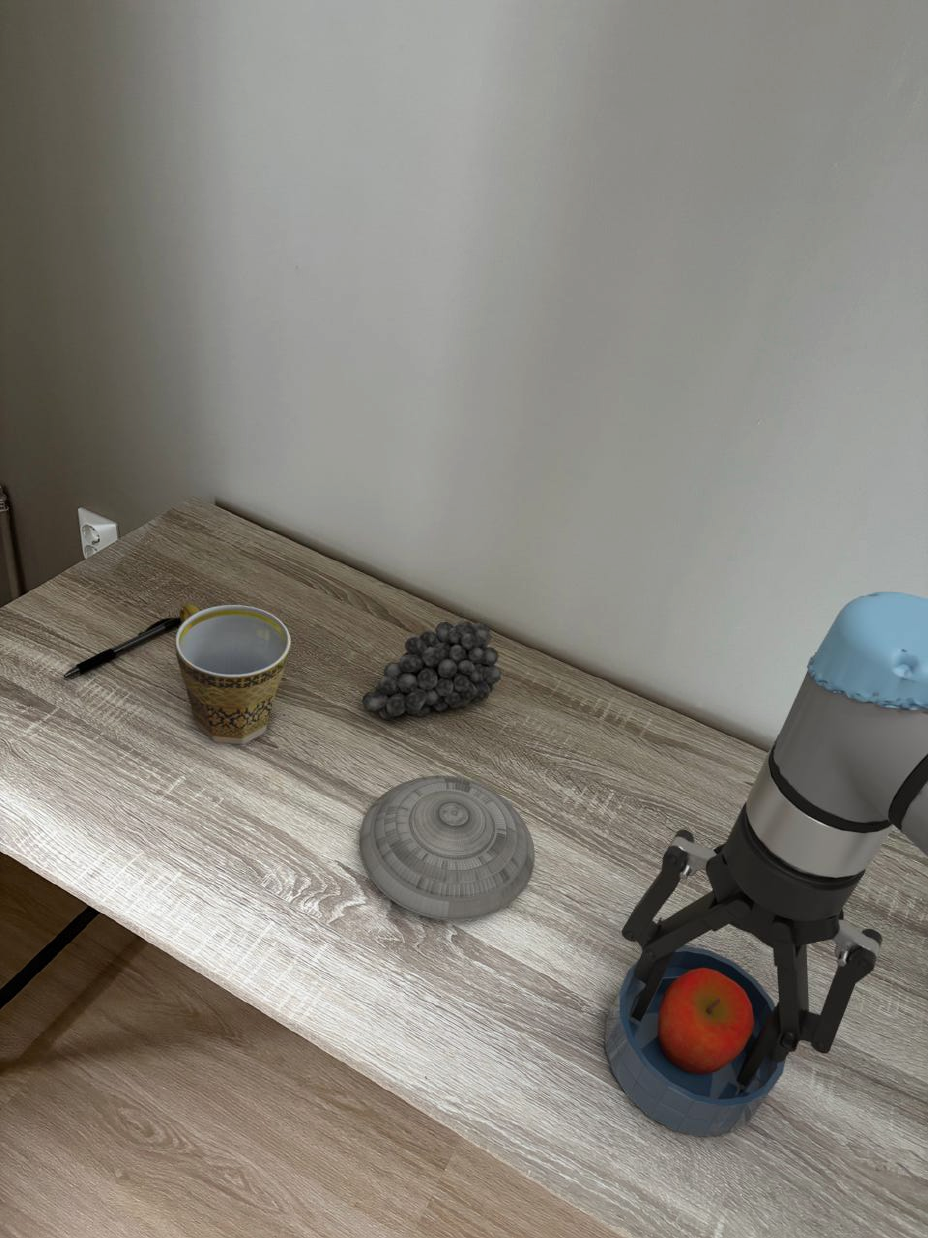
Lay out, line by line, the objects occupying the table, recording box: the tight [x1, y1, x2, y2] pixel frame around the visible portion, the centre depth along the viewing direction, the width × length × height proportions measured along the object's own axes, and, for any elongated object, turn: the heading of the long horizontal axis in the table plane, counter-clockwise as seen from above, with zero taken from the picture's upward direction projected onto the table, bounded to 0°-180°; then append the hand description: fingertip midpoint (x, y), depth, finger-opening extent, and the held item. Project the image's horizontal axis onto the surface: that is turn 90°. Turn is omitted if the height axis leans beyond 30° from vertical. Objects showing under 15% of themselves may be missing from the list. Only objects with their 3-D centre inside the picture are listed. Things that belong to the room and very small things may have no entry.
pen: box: [63, 616, 182, 679], centre depth 98 cm, size 14×2×1 cm, turn 141°
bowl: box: [604, 944, 787, 1137], centre depth 71 cm, size 12×12×5 cm
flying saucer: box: [358, 775, 536, 922], centre depth 82 cm, size 15×15×6 cm
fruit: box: [361, 620, 502, 721], centre depth 96 cm, size 9×8×15 cm
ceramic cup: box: [174, 603, 292, 745], centre depth 90 cm, size 13×10×10 cm
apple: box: [658, 968, 754, 1074], centre depth 70 cm, size 6×6×8 cm
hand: (694, 1036), depth 71 cm, fingers open, 7 cm apart
